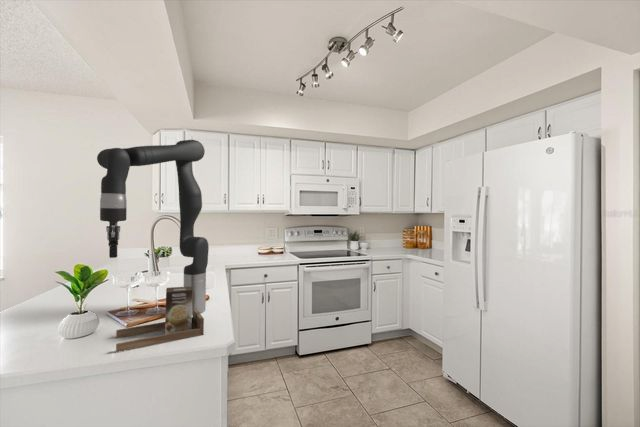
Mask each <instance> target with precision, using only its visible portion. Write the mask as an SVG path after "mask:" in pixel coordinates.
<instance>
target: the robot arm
mask: <svg viewBox="0 0 640 427" xmlns="http://www.w3.org/2000/svg"><path fill="white" fill-rule="evenodd" d="M204 156H205V146H204V145H203V144H202V143H201V142H200V141H199V140H197V139H196V140H195V139H186V140H179V141H177V142H176V143H175V144H163V145H140V146H133V147H127V148H120V147H114V148H113V147H112V148H106V149H102V150H101V151H100V152H99V153H98V154H97V156H96V160H97V163H98V165H99V166H100V167H101V168H103V169H106V170H107V171H106V174H105V175H104V176H103V177H102V178H101V182H100V193H101V194H100V201H99V219H100V221H101V222H109V225H106V228H105V229H106V233H107V236H106V237H107V238H106V239H107V241H108V247H109V251H108V252H109V255H108V256H109V258H110V259H112V258H113V259H115V258H118V246H119V240H120V232H121V226H120V225H118V222H125V221H127V212H128V211H127V208H128V207H127V204H128V203H127V194H126V192H127V185H126V184H127V179H128V175H129V171H130V168H131V167H143V166H150V165H156V164H163V163H167V162H168V163H169V162H174V161H175V166H176V172H177V183H178V184H177V185H178V202H179V203H178V205H179V219H180V220H179V223H180V228H179V251H180V254H181V255H182V256H183V257H186V258H193V259H192V262H191V264H188V265H186V266H184V267H183V287H188V286H192V315H193V308H196V309H197V310H198V311H199V313H200V314H201V313H203V312H205V311H206V306H207V305H206V302H207V301H206V300H207V296H206V294H207V291H206V290H207V267H208V262H209V241H208V239H207V238H205V237H202V236H195V235H194V234H195V233H194V231H195V230H194V228H195V223H196V220H197V219H198V217H199V216H200V214H201V211H202V208H203V199H202V198H203V196H202V190H201V187H200V186H199V183H198V182H197V180H196V178H195V176H194V172H193V162H198V161H201V160H202V159H203V158H204Z"/></svg>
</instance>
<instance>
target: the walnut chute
mask: <svg viewBox="0 0 640 427" xmlns="http://www.w3.org/2000/svg"><path fill="white" fill-rule="evenodd" d="M204 322H205V318H204V317H203V315H202V314H201V313H199V311H198V310H197V309H196V308H193V314H192V325H193V326H194V328H191V329H190V330H185V331H180V332H175V333H170V334H165V333H164V334H160V335H155V336H150V337H145V338H144V337H143V338H138V339H134V340H128V341H124V342H118V343H116V344H115V352H117V353H120V352H119V351H122V352H125V351H124V350H127V351H131V349H132V350H135V348H137V349H141V348H145V347H151V346H155V345H161V344H165V343H166V344H167V343H170V342H174V341H180V340H184V339H189V338H195V337H200V336H203V335H205V334H204V333H205V332H204V331H205V330H204V329H205V328H204V326H205V323H204ZM162 330H163V331H164V330H165V321H162V322H156V323H155V322H154V323H149V324H144V325H139V326H133V327H127V328H121V329H116V330H115V331H116V337H115V338H116V339H119V338H124V337H130V336H136V335H141V334H146V333H150V332H156V331H157V332H158V331H162Z"/></svg>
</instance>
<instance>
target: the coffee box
mask: <svg viewBox="0 0 640 427" xmlns="http://www.w3.org/2000/svg"><path fill="white" fill-rule="evenodd" d="M165 291H166V292H165V316H164V317H165V318H164V322H165V329H164V334H170V333H175V332H180V331H185V330H190V329H192V325H193V324H192V317H193V314H192V286H188V287H184V286H175V287H174V286H173V287H166V290H165Z"/></svg>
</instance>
